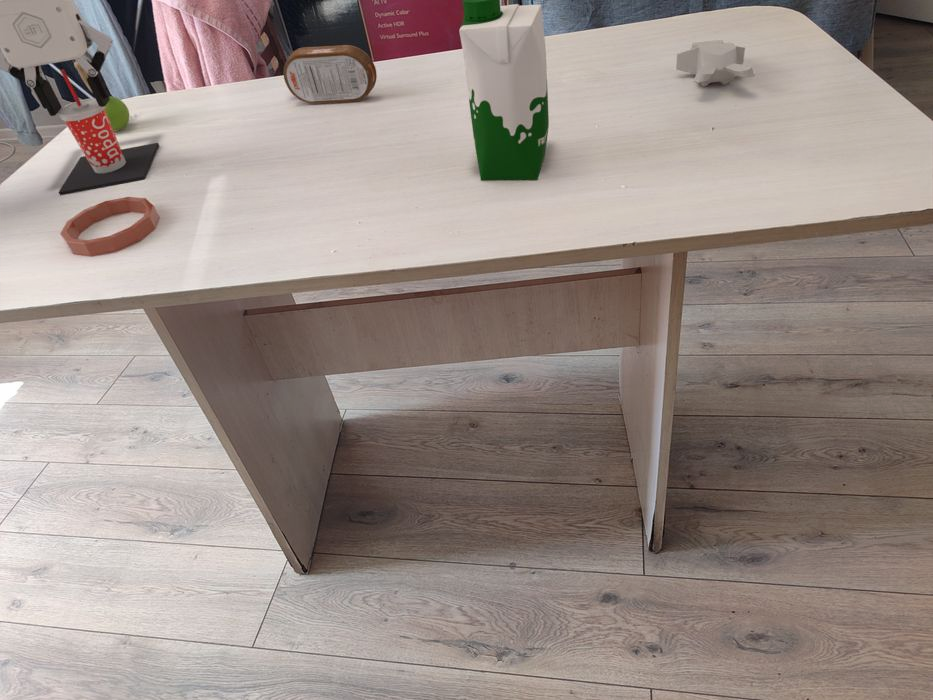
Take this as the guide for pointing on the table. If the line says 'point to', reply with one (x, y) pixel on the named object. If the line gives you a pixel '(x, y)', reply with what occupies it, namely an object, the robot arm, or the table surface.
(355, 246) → the table surface
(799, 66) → the table surface
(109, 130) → the beverage cup
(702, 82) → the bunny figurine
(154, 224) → the reddish brown ring
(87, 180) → the mat
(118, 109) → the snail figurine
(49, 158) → the table surface
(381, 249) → the table surface
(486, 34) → the milk carton
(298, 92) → the tin
